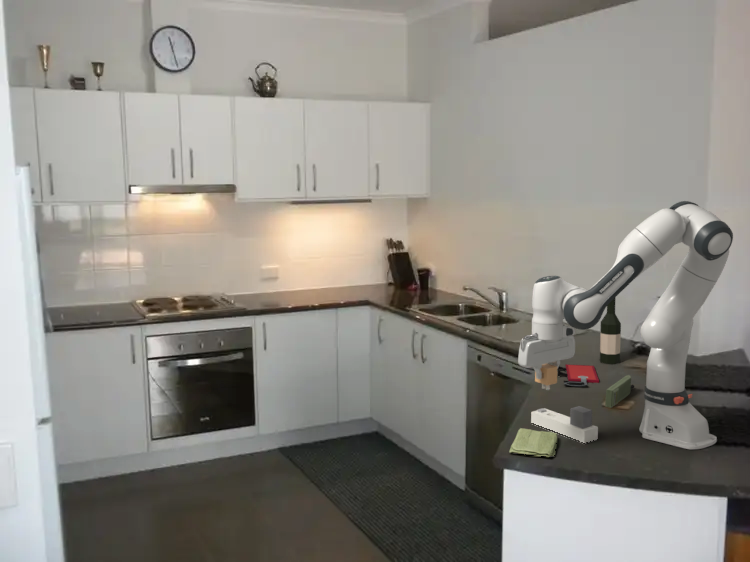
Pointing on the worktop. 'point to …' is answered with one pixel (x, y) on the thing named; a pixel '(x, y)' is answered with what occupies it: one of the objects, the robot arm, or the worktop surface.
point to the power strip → (563, 425)
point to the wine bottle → (610, 336)
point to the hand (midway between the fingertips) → (546, 377)
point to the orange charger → (547, 376)
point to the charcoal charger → (581, 417)
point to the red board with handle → (579, 375)
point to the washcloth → (534, 443)
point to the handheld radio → (618, 391)
